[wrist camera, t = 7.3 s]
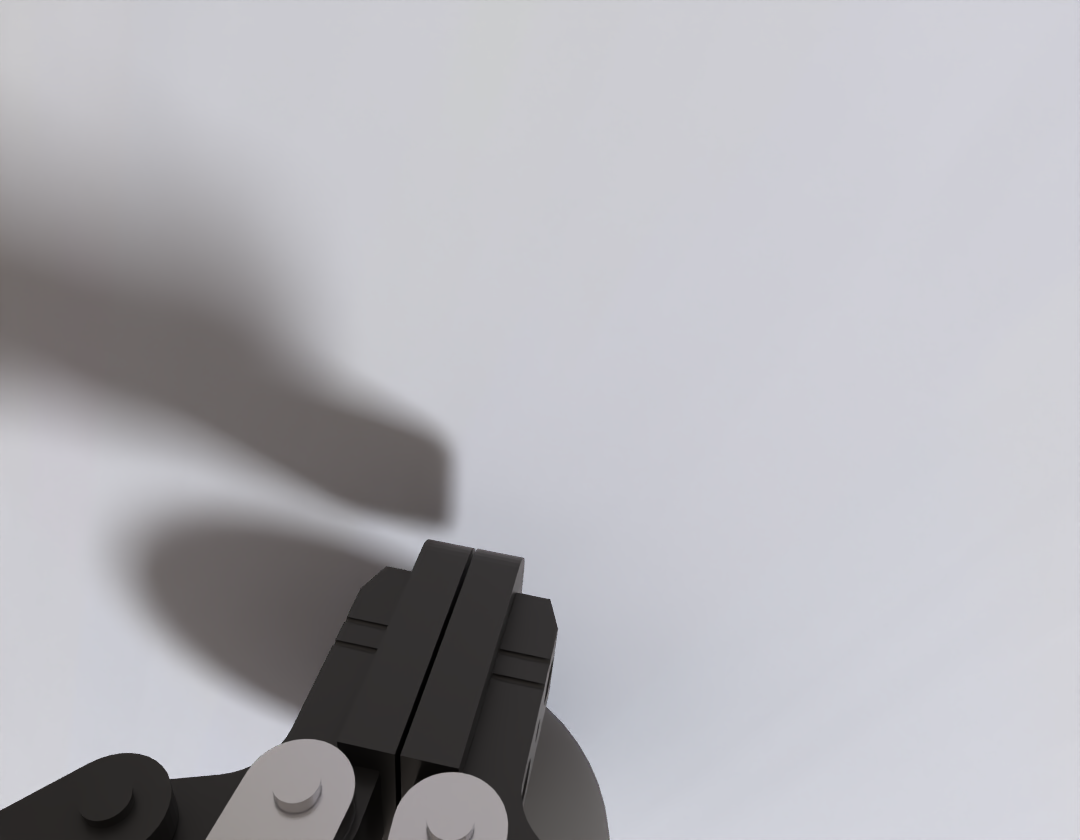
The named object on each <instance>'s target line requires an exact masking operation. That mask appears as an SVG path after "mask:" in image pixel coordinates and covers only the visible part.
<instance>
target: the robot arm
mask: <svg viewBox="0 0 1080 840" xmlns="http://www.w3.org/2000/svg"><path fill="white" fill-rule="evenodd" d="M523 573H524V558H521V557H516V556H511V555H506V554H501V553H496V552H491V551H486V550H481V549H477V550H476V551H475V549H474V548H470V547H465V546H460V545H455V544H450V543H445V542H440V541H435V540H430V539H428V540H427V541H426V542H425V543H424V545H423V547H422V549H421V552H420V554H419V556H418V558H417V561H416V563H415V565H414V567H413V570H412V571H407V570H402V569H397V568H392V567H387V566H386V567H385V568H384V569H383V570H382V571H381V572H380V573H378V574H377V575H376V576H375V577H374V578H373V579H371V580H370V581H369V582H368V583H367V584H366V585H364V586H363V587H362V588H361V590H360V592H359V594H358V596H357V598H356V600H355V602H354V604H353V606H352V608H351V610H350V612H349V614H348V616H347V620H346V622H344V624H343V626H342V628H341V630H340V632H339V634H338V636H337V638H336V642H335V645H334V646H332V648H331V650H330V652H329V654H328V656H327V658H326V660H325V662H324V664H323V666H322V668H321V670H320V672H319V674H318V676H317V678H316V681H315V683H314V685H313V687H312V689H311V691H310V693H309V695H308V697H307V699H306V701H305V703H304V705H303V707H302V709H301V711H300V713H299V715H298V717H297V719H296V721H295V723H294V725H293V727H292V729H291V731H290V732H289V734H288V736H287V737H286V738H285V740H284V741H283V742H282V743H281V744H280V745H278V746H275V747H274V748H272V749H270V750H268V751H267V752H266V753H264V754H263V755H262V756H260V757H259V758H258V759H257V760H256V761H255V762H254V763H253V764H252V766H250V767H247V768H245V769H243V770H239V771H236V772H232V773H227V774H221V775H211V776H200V777H189V778H178V779H169V776H168V774H167V772H166V770H165V769H164V768H163V766H162V765H160V764H159V763H158V762H157V761H156V760H154V759H152V758H150V757H148V756H144V755H141V754H134V753H120V754H115V755H109V756H106V757H103V758H100V759H97V760H95V761H93V762H91V763H89V764H87V765H85V766H83V767H81V768H79V769H77V770H76V771H74V772H72V773H70V774H68V775H66V776H64V777H62V778H61V779H59V780H57V781H55V782H53V783H51V784H49V785H47V786H45V787H44V788H42V789H40V790H38V791H36V792H34V793H32V794H30V795H29V796H27V797H25V798H23V799H21V800H19V801H17V802H15V803H14V804H12V805H10V806H8V807H6V808H4V809H2V810H0V840H540V839H539V838H538V837H537V835H536V834H535V833H534V831H533V830H532V828H531V827H530V825H529V823H528V821H527V818H526V816H525V813H524V810H523V806H524V802H525V797H526V793H527V788H528V784H529V780H530V775H531V771H532V766H533V762H534V757H535V752H536V748H537V744H538V739H539V735H540V730H541V725H542V721H543V717H544V713H545V708H546V704H547V699H548V695H549V689H550V682H551V675H552V667H553V660H554V653H555V646H556V639H557V632H558V628H557V624H556V620H555V616H554V612H553V608H552V604H551V601H550V599H546V598H541V597H536V596H531V595H526V594H522V583H523Z"/></svg>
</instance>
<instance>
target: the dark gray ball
mask: <svg viewBox="0 0 1080 840" xmlns="http://www.w3.org/2000/svg"><path fill="white" fill-rule="evenodd" d="M523 810H524V813H525V816H526V818H527V821H528V823H529V825H530V827H531V828H532V830H533V831H534V833H535V834H536V835H537V837H538V838H539V839H540V840H610V838H609V830H608V823H607V817H606V810H605V805H604V802H603V798H602V795H601V791H600V788H599V784H598V782H597V780H596V777H595V775H594V773H593V770H592V768H591V766H590V763H589V761H588V760H587V758H586V756H585V755H584V753H583V751H582V749H581V748H580V746H579V744H578V743H577V741H576V740H575V739H574V737H573V736H572V735H571V734H570V732H569V731H568V730H567V728H566V727H565V726H564V724H563V723H562V722H561V721H560V720H559V719H558V718H557V717H556V716H555V715H554V714H553V713H552V712H551V711H550V710H549V709H548V708H547V707H546V708H545V713H544V717H543V721H542V725H541V730H540V735H539V739H538V744H537V748H536V752H535V757H534V762H533V766H532V771H531V775H530V780H529V784H528V788H527V793H526V797H525V802H524V806H523Z"/></svg>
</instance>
